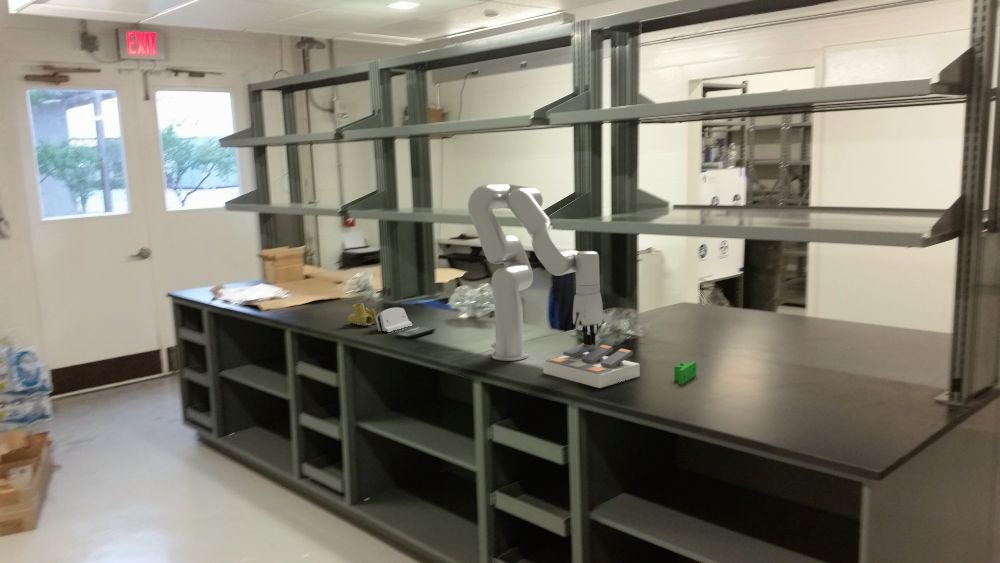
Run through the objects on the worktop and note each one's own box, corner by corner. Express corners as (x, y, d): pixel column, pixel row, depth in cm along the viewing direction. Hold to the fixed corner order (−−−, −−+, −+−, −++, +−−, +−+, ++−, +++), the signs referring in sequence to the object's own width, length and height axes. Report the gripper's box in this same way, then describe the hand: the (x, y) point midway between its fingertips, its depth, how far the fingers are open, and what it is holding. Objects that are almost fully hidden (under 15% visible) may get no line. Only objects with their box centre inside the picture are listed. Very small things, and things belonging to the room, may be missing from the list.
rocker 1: (563, 355, 244) (563, 351, 244) (585, 346, 250) (584, 342, 250) (573, 357, 241) (572, 353, 240) (594, 348, 247) (594, 344, 247)
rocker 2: (582, 361, 238) (581, 357, 238) (603, 347, 244) (602, 344, 244) (592, 363, 235) (591, 359, 234) (613, 350, 241) (612, 346, 240)
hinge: (388, 333, 309) (380, 310, 309) (379, 336, 311) (372, 313, 311) (413, 325, 323) (406, 303, 323) (405, 328, 325) (398, 306, 326)
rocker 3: (601, 365, 232) (600, 361, 232) (622, 352, 238) (621, 348, 237) (611, 368, 229) (611, 364, 228) (632, 354, 235) (632, 350, 234)
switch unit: (543, 373, 242) (543, 357, 241) (583, 362, 253) (583, 348, 252) (599, 388, 223) (599, 371, 223) (639, 376, 235) (639, 360, 234)
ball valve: (365, 330, 321) (384, 323, 328) (360, 306, 319) (379, 300, 326) (348, 328, 330) (366, 321, 337) (343, 305, 328) (362, 299, 335)
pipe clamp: (684, 374, 236) (684, 360, 235) (696, 376, 234) (696, 361, 233) (670, 383, 227) (670, 368, 226) (682, 384, 225) (682, 369, 224)
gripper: (595, 285, 253) (596, 340, 256) (562, 291, 243) (564, 348, 246) (612, 287, 247) (613, 343, 250) (580, 293, 238) (581, 351, 240)
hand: (589, 345), depth 248 cm, fingers closed
